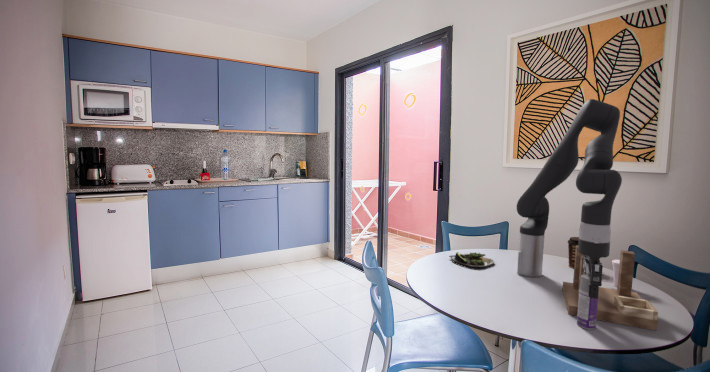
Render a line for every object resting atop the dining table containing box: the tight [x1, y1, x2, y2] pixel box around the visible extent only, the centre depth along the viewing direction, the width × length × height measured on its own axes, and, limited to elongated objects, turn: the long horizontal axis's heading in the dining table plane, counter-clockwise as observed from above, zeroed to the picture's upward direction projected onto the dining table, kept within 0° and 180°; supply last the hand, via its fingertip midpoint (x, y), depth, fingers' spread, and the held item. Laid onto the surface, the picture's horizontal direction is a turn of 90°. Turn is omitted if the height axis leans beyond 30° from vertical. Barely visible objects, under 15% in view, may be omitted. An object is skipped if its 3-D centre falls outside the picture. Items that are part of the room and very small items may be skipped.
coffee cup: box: [567, 236, 579, 269], centre depth 154 cm, size 9×8×13 cm
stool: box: [561, 245, 659, 332], centre depth 115 cm, size 22×22×18 cm
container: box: [576, 275, 598, 331], centre depth 103 cm, size 5×5×15 cm
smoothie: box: [611, 259, 620, 288], centre depth 133 cm, size 6×6×14 cm
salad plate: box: [448, 251, 495, 270], centre depth 162 cm, size 19×18×5 cm
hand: (590, 292), depth 103 cm, fingers open, 8 cm apart
